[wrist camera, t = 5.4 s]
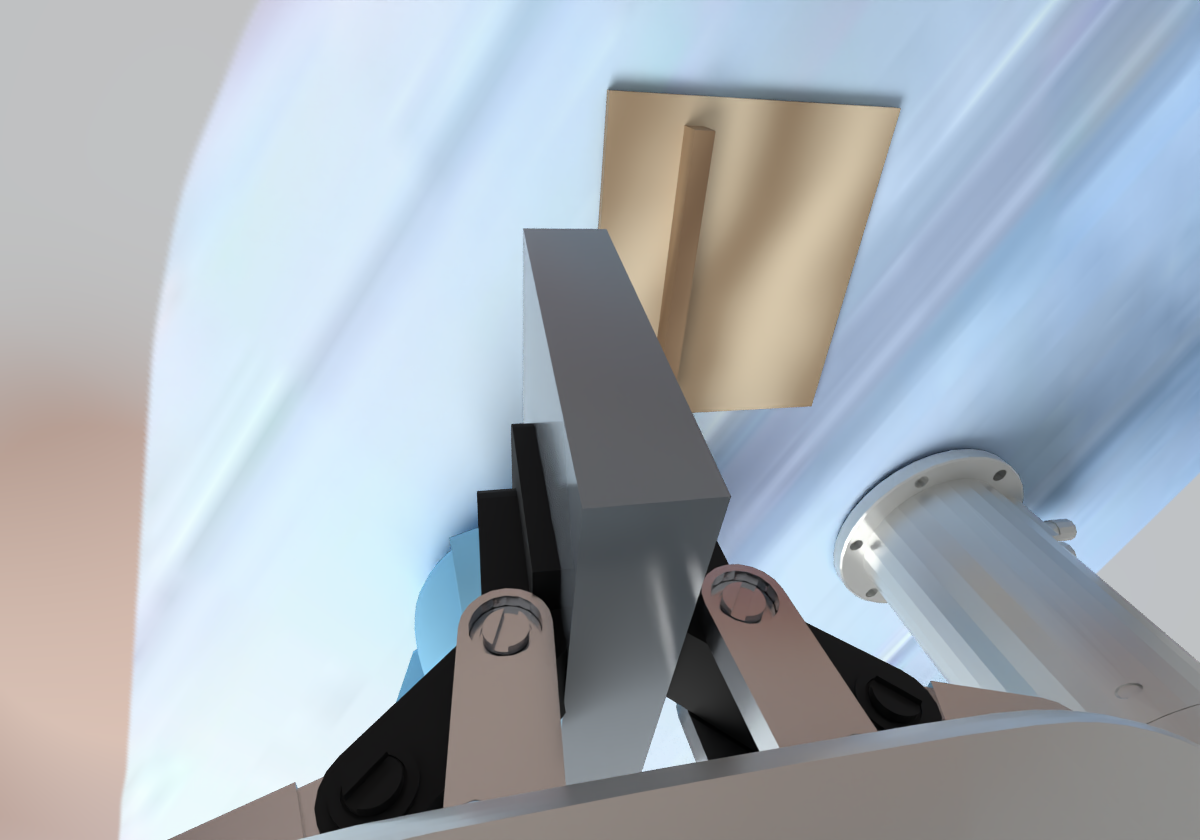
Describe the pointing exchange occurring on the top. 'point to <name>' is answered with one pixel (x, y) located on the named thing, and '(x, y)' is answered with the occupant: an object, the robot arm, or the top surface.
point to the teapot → (444, 605)
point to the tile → (613, 494)
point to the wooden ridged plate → (740, 232)
